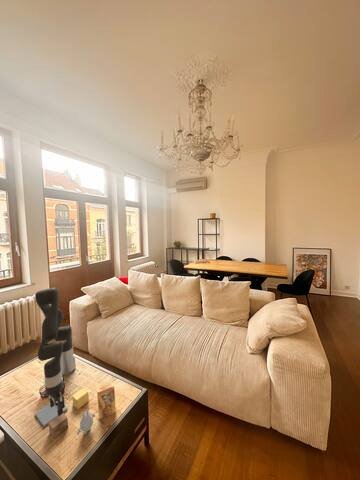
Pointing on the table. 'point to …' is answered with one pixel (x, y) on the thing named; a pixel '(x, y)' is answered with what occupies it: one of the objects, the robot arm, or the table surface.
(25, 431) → the table surface
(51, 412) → the slate baseplate
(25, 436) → the table surface
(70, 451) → the table surface
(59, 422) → the walnut brick
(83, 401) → the mustard brick
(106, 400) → the candy box
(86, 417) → the toy figure
